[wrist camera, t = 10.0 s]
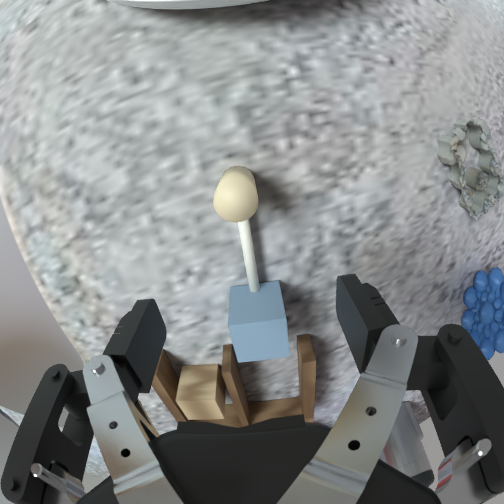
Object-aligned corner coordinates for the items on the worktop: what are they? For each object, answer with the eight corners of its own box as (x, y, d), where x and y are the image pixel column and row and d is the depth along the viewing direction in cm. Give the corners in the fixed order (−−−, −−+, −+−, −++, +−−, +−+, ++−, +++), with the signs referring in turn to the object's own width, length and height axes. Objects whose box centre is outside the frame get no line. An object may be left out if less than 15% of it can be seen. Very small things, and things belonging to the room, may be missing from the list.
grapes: (463, 322, 34) (499, 371, 23) (439, 321, 33) (478, 377, 22) (496, 260, 29) (544, 303, 18) (475, 252, 28) (530, 301, 17)
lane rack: (308, 333, 32) (316, 360, 28) (308, 399, 39) (313, 422, 35) (153, 349, 33) (145, 375, 29) (188, 410, 40) (185, 431, 36)
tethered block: (263, 162, 23) (270, 174, 17) (282, 317, 30) (289, 356, 25) (206, 171, 23) (195, 186, 18) (238, 323, 31) (238, 362, 25)
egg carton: (427, 141, 22) (451, 147, 19) (464, 110, 20) (488, 112, 16) (459, 217, 26) (479, 230, 22) (491, 184, 24) (512, 193, 20)
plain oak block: (217, 363, 34) (215, 399, 29) (225, 384, 36) (224, 418, 31) (182, 365, 34) (175, 400, 29) (192, 386, 36) (188, 419, 31)
